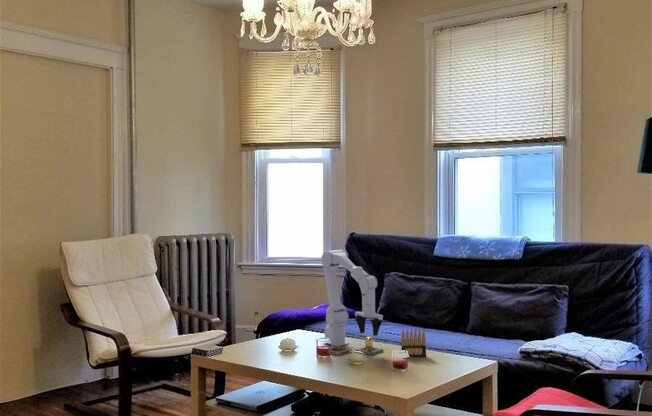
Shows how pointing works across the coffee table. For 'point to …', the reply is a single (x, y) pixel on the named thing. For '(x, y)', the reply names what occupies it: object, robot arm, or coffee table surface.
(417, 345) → the ammunition clip
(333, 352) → the rack block
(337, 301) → the robot arm
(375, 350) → the socket block
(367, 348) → the brass peg
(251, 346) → the coffee table surface
